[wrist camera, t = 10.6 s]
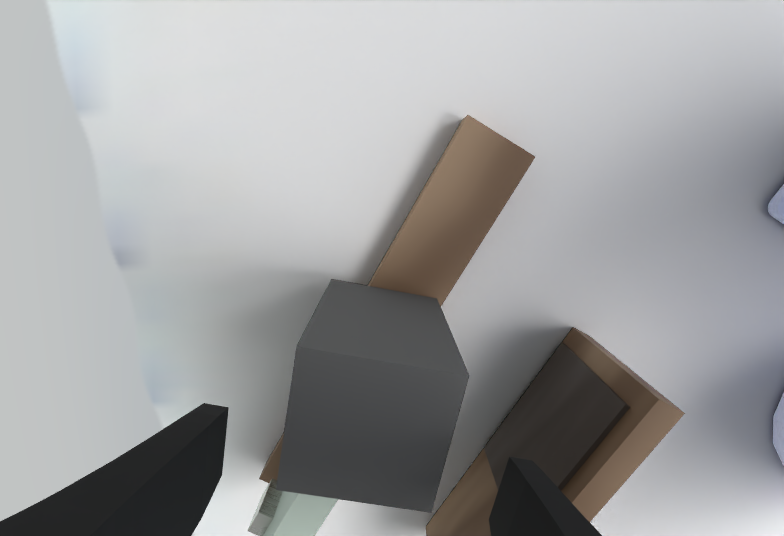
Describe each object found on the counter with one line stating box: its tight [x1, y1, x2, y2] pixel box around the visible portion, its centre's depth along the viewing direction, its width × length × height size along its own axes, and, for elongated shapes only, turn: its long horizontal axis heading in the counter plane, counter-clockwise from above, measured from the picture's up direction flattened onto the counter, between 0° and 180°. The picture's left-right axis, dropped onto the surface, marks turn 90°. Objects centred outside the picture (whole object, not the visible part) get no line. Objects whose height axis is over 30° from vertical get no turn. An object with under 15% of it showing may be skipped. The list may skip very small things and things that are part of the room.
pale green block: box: [248, 478, 338, 536], centre depth 14 cm, size 2×6×4 cm, turn 151°
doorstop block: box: [276, 279, 469, 512], centre depth 13 cm, size 4×4×6 cm
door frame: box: [259, 115, 685, 536], centre depth 14 cm, size 10×18×6 cm, turn 151°
